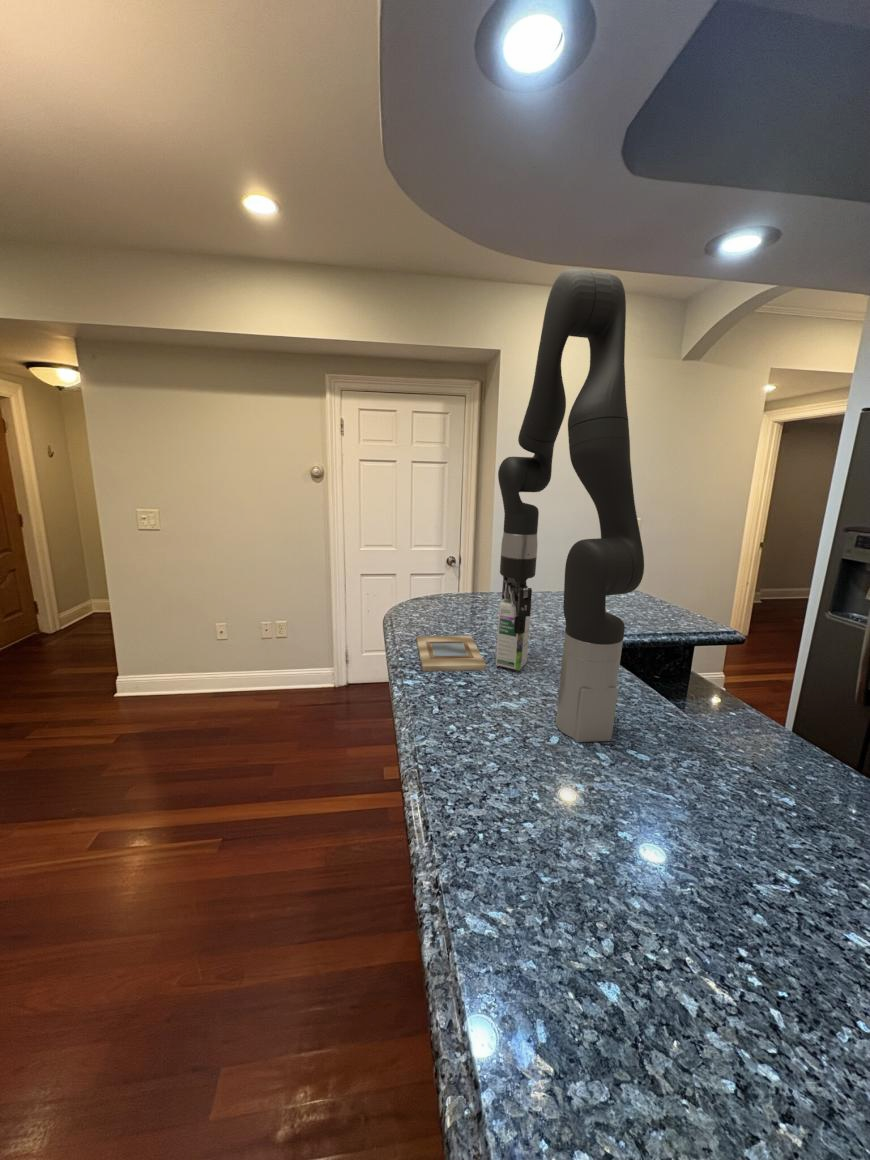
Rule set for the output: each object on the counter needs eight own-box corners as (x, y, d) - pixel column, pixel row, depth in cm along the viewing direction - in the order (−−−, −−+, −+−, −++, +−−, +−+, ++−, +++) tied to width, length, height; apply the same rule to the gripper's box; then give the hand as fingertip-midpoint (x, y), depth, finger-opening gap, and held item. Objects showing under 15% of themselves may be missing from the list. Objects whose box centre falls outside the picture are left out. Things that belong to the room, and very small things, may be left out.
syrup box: (494, 665, 106) (498, 602, 103) (503, 656, 111) (507, 596, 108) (519, 671, 104) (524, 607, 100) (527, 662, 109) (532, 600, 105)
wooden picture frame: (486, 670, 105) (486, 664, 105) (422, 671, 104) (422, 665, 103) (470, 640, 123) (471, 635, 122) (416, 640, 121) (416, 635, 121)
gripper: (547, 560, 95) (540, 637, 99) (526, 548, 109) (521, 616, 113) (510, 560, 94) (505, 638, 98) (493, 548, 108) (489, 616, 112)
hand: (513, 626), depth 106 cm, fingers closed on syrup box, 8 cm apart
